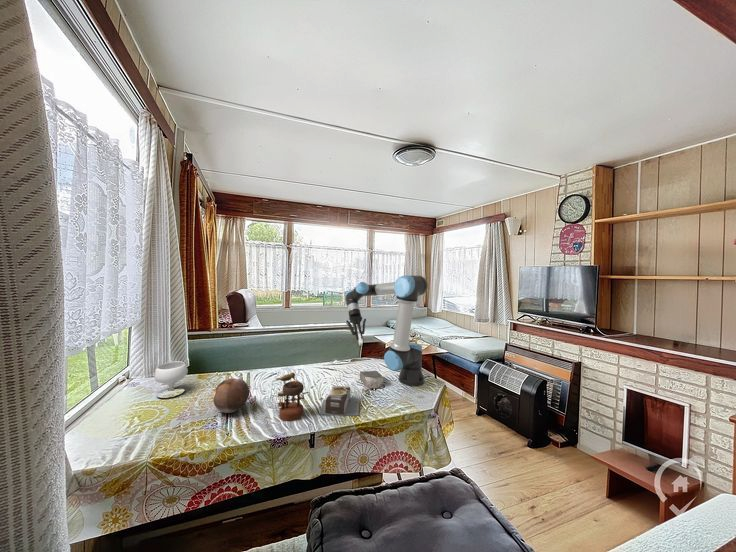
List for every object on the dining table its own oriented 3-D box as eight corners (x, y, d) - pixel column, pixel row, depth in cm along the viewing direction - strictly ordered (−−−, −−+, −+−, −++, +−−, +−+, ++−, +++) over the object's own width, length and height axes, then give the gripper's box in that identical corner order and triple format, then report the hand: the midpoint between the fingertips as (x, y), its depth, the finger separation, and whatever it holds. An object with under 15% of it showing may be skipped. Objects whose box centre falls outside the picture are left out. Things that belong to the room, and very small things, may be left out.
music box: (278, 425, 117) (278, 377, 118) (273, 415, 127) (273, 371, 128) (313, 416, 125) (312, 371, 126) (305, 407, 134) (305, 365, 135)
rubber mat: (359, 401, 140) (359, 400, 140) (358, 416, 126) (358, 414, 126) (323, 400, 140) (323, 399, 140) (319, 415, 126) (319, 413, 126)
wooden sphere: (252, 401, 137) (252, 372, 136) (244, 418, 122) (244, 385, 121) (219, 403, 134) (220, 373, 133) (207, 420, 119) (207, 386, 119)
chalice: (155, 403, 132) (155, 372, 132) (153, 392, 143) (153, 364, 142) (189, 395, 142) (189, 366, 141) (185, 385, 152) (185, 358, 152)
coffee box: (350, 386, 142) (345, 401, 126) (350, 398, 142) (344, 415, 126) (333, 384, 143) (325, 399, 126) (332, 397, 143) (324, 413, 127)
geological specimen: (376, 369, 172) (385, 377, 158) (375, 379, 172) (385, 388, 157) (359, 370, 168) (367, 379, 154) (359, 380, 168) (367, 390, 154)
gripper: (363, 314, 183) (370, 346, 168) (343, 315, 180) (349, 348, 165) (364, 307, 177) (372, 339, 162) (344, 309, 174) (350, 342, 159)
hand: (360, 344), depth 163 cm, fingers closed
